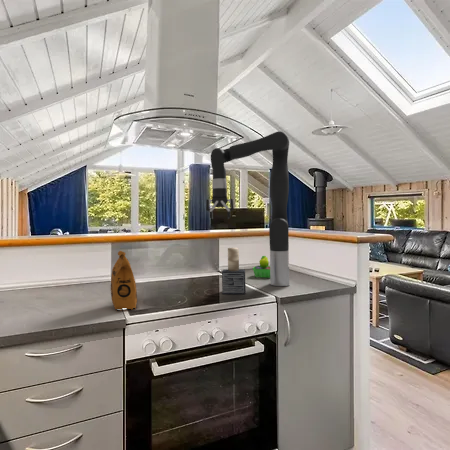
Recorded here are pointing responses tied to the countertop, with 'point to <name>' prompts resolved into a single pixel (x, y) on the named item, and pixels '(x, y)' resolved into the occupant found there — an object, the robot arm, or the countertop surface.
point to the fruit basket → (262, 268)
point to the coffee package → (123, 284)
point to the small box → (233, 282)
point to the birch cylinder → (233, 259)
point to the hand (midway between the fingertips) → (220, 218)
